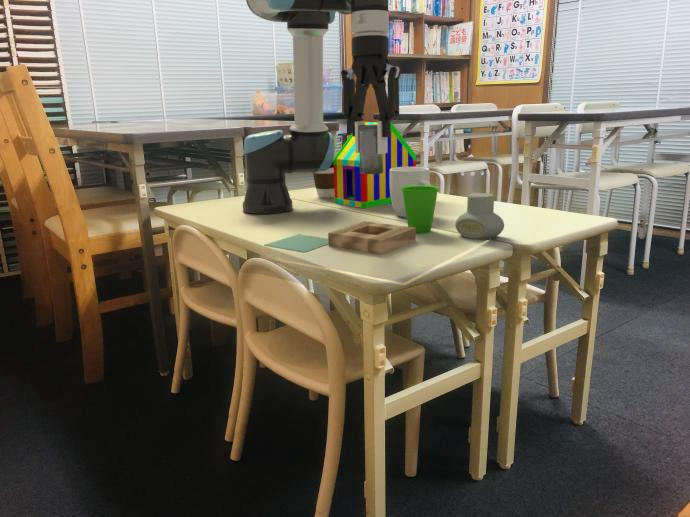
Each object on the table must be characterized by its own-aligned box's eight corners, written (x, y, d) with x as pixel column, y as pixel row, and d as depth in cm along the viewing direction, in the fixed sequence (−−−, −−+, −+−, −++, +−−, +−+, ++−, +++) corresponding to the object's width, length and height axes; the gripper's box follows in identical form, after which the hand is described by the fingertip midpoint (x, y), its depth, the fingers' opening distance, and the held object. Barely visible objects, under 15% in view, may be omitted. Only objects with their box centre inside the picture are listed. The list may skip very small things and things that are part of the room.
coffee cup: (305, 197, 189) (303, 162, 186) (328, 193, 196) (327, 159, 193) (325, 200, 181) (324, 164, 178) (349, 196, 188) (348, 161, 185)
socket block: (328, 248, 121) (328, 232, 120) (364, 235, 132) (364, 221, 131) (381, 257, 113) (381, 240, 112) (415, 242, 124) (415, 227, 123)
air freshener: (449, 237, 128) (450, 195, 125) (467, 231, 134) (468, 190, 131) (492, 244, 121) (494, 199, 118) (509, 237, 127) (511, 194, 124)
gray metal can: (355, 173, 118) (354, 125, 115) (368, 170, 121) (367, 124, 119) (374, 174, 115) (374, 125, 112) (387, 171, 119) (387, 124, 116)
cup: (397, 229, 137) (397, 185, 134) (433, 228, 138) (434, 184, 135) (404, 238, 128) (404, 191, 125) (442, 236, 129) (443, 189, 126)
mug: (446, 218, 149) (448, 169, 146) (416, 223, 143) (416, 173, 140) (411, 210, 161) (411, 165, 158) (381, 215, 155) (381, 168, 152)
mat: (264, 247, 123) (263, 244, 123) (299, 236, 132) (299, 234, 132) (304, 254, 116) (304, 251, 116) (338, 242, 125) (338, 240, 125)
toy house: (364, 208, 167) (363, 123, 160) (334, 203, 176) (332, 123, 170) (415, 197, 183) (416, 120, 176) (385, 193, 192) (385, 120, 185)
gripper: (323, 38, 113) (327, 152, 119) (398, 30, 102) (398, 155, 109) (345, 41, 119) (347, 150, 125) (418, 33, 108) (417, 152, 115)
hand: (371, 152), depth 117 cm, fingers closed on gray metal can, 5 cm apart
